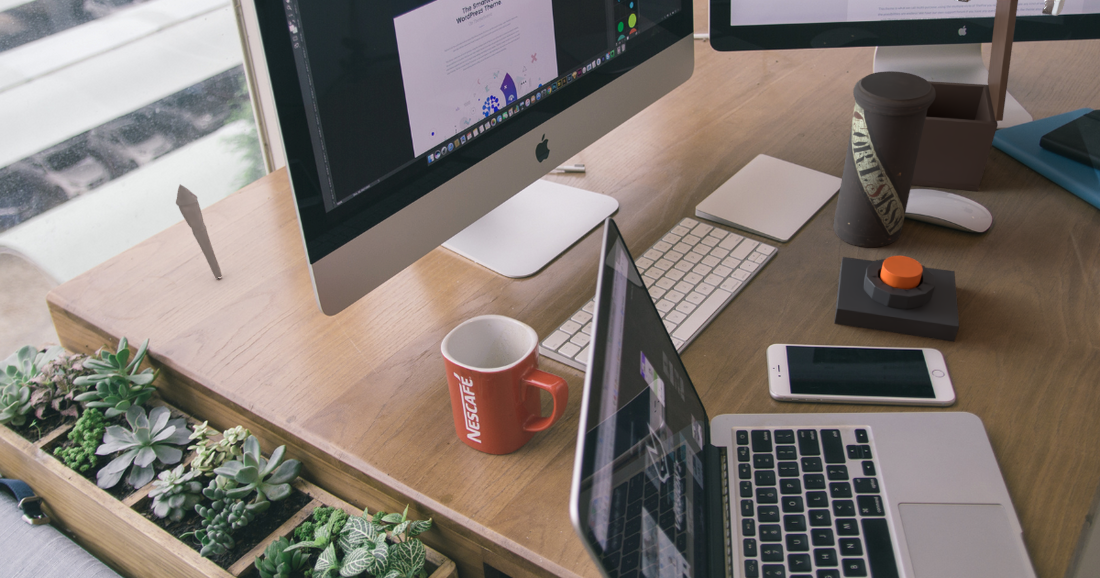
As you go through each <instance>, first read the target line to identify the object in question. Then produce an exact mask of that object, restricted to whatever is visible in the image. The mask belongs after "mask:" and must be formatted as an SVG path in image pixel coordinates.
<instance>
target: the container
mask: <svg viewBox="0 0 1100 578" xmlns="http://www.w3.org/2000/svg"><path fill="white" fill-rule="evenodd" d="M928 81H929V80H927V79H926V78H923V77H921V76H919V75H916V74H913V73H909V72H903V71H893V70H892V71H891V70H888V71H878V72H873V73H870V74H868V75H865V76H864V77H862V78H861V79H859V80H858V81H857V82H856V83H855V84H854V86H853V92H852V93H853V98H854V101H855V102H854V107H853V114H852V121H851V126H850V132H849V136H848V143H847V148H846V153H845V160H844V166H843V170H842V175H841V176H842V177H841V182H840V187H839V192H838V196H837V198H838V199H837V202H836V206H835V212H834V216H833V217H834V218H833V224H832V228H833V232H834V234H835V235H836V236H837V237H838V238H839V239H840V240H842V241H843V242H845V243H847V244H849V245H853V246H856V247H863V248H879V247H884V246H889V245H891V244H893V243H894V242H896V241H898V239H899V238H900V236H901V234H902V230H903V227H904V223H905V217H906V212H907V207H908V202H909V199H910V193H911V188H912V185H911V184H912V179H913V174H914V169H915V165H916V160H917V155H918V150H919V145H920V141H921V136H922V132H923V127H924V123H925V118H926V114H927V109H928V108H929V106H930V105H931V104H932V103H933V101H934V99H935V96H936V94H935V89H934V87H933V86H932V85H931V84H930V83H929V82H928Z"/></svg>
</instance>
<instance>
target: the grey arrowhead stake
mask: <svg viewBox="0 0 1100 578" xmlns="http://www.w3.org/2000/svg"><path fill="white" fill-rule="evenodd" d="M175 204H176V206H178V209H179V211H180V214H181V215H182V217H183V218H184V220H185V222H186V224H187V225H188V227H190V228H191V231H192V235H193V237H194V238H195V240H196V241H197V243H198V245H199V247H200V250H201V251H202V253H203V255H204V257H205V259H206V261H207V263H208V266H209V268H210V270H211V273H212V275H213V276H214V277H215V279H216V278H218V277H221V276H222V277H223V274H222V272H221V267H220V265H219V262H218V259H217V257H216V254H215V251H214V249H213V246H212V243H211V240H210V236H209V232H208V230H207V226H206V224H205V221H204V218H203V213H202V210H201V206H200V204H199V200H198V196H197V195H196V194H194V193H193V192H192V191H191V190H190V189H188V188H187V187H185V186H184V185H182V184H179V186H178V189H177V193H176V199H175Z"/></svg>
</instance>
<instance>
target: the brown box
mask: <svg viewBox="0 0 1100 578" xmlns="http://www.w3.org/2000/svg"><path fill="white" fill-rule="evenodd" d="M927 81H928V82H929V83H930V84H931V85H932V86H933V87H934V89H935V94H936V96H935V99H934V101H933V103H932V104H931V105H930V106H929V108H928V109H927V114H926V118H925V123H924V127H923V132H922V136H921V141H920V145H919V150H918V155H917V160H916V165H915V169H914V174H913V179H912V184H911V186H919V187H929V188H938V189H950V190H958V191H969V192H979V189H980V186H981V183H982V180H983V176H984V173H985V168H986V166H987V162H988V159H989V155H990V152H991V148H992V145H993V142H994V139H995V137H996V132H997V128H998V125H999V123H998V121H995V116H994V111H993V106H992V101H991V96H990V91H989V86H988V84H981V83H966V82H965V83H964V82H950V81H949V82H947V81H930V80H927Z"/></svg>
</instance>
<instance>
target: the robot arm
mask: <svg viewBox="0 0 1100 578" xmlns="http://www.w3.org/2000/svg"><path fill="white" fill-rule="evenodd" d="M954 1H955V2H962V3H968V2H970V1H971V0H954ZM1065 2H1066V0H1044V7H1043V8H1042V11H1041V12H1042V14H1043V15H1050V16H1056V17H1058V16H1059V15H1060V14H1061V13H1062V11H1063V9H1064V6H1065Z"/></svg>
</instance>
